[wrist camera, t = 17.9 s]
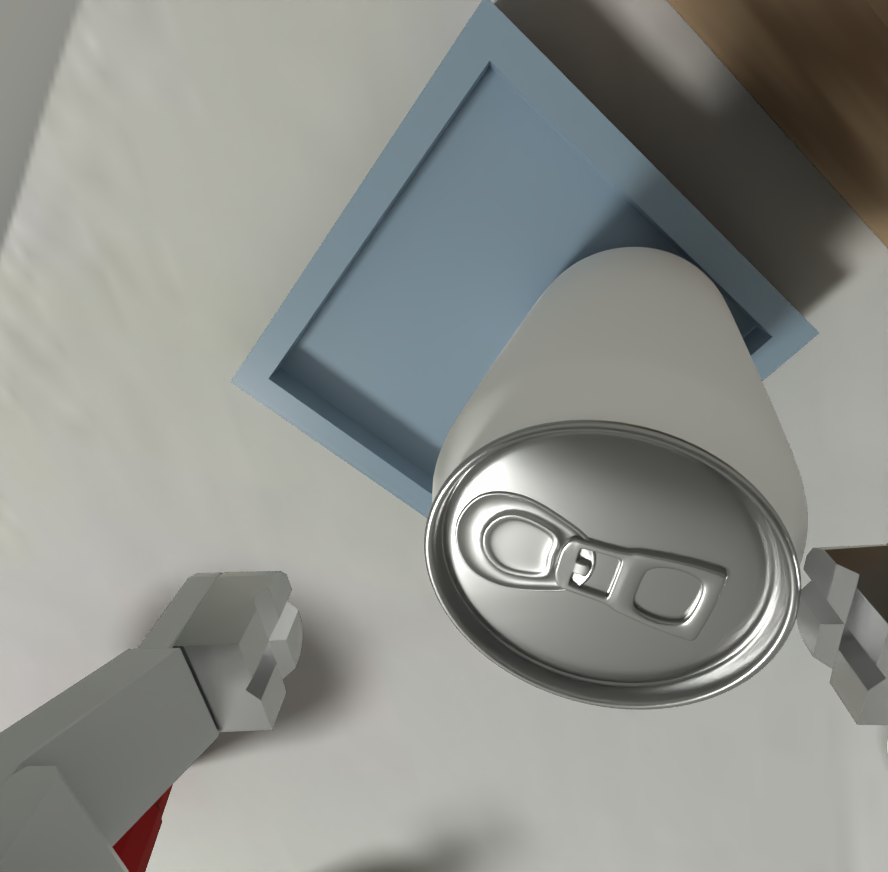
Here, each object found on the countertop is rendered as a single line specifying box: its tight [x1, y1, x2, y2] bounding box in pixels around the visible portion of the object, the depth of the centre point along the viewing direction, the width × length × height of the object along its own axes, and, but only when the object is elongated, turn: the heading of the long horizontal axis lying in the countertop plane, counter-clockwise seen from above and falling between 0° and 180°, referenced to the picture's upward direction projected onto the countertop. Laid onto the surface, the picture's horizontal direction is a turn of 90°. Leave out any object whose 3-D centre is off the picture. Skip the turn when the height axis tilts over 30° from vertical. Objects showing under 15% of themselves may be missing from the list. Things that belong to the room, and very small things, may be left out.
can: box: [424, 247, 808, 710], centre depth 14 cm, size 6×6×12 cm
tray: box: [231, 0, 819, 518], centre depth 20 cm, size 14×14×2 cm
